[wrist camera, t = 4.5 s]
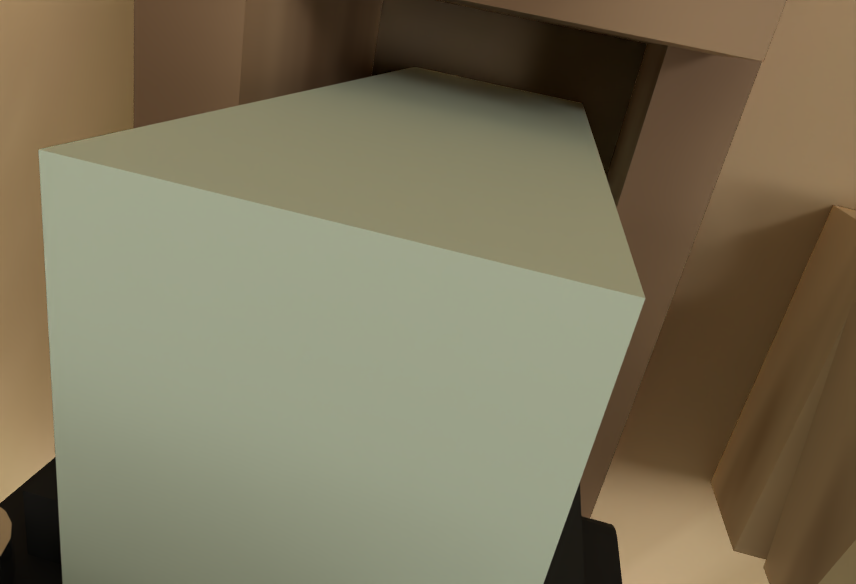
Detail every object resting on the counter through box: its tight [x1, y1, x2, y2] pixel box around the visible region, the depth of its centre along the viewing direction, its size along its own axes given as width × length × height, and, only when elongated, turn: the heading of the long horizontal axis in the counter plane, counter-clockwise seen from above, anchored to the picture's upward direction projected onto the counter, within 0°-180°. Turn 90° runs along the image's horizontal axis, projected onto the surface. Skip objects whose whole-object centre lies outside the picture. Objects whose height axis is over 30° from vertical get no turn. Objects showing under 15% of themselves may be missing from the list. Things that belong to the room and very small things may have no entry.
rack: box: [134, 0, 787, 518], centre depth 14 cm, size 9×17×7 cm, turn 170°
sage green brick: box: [38, 67, 645, 584], centre depth 11 cm, size 4×10×12 cm, turn 170°
